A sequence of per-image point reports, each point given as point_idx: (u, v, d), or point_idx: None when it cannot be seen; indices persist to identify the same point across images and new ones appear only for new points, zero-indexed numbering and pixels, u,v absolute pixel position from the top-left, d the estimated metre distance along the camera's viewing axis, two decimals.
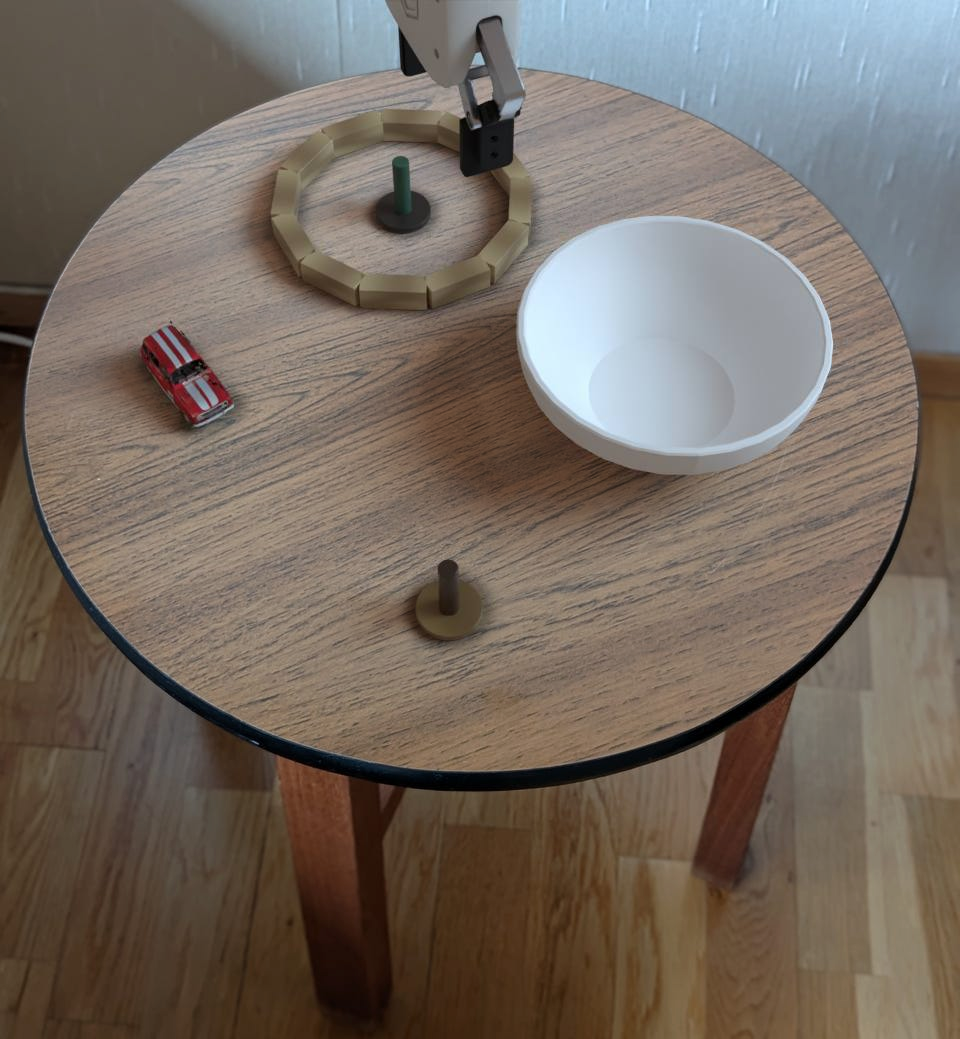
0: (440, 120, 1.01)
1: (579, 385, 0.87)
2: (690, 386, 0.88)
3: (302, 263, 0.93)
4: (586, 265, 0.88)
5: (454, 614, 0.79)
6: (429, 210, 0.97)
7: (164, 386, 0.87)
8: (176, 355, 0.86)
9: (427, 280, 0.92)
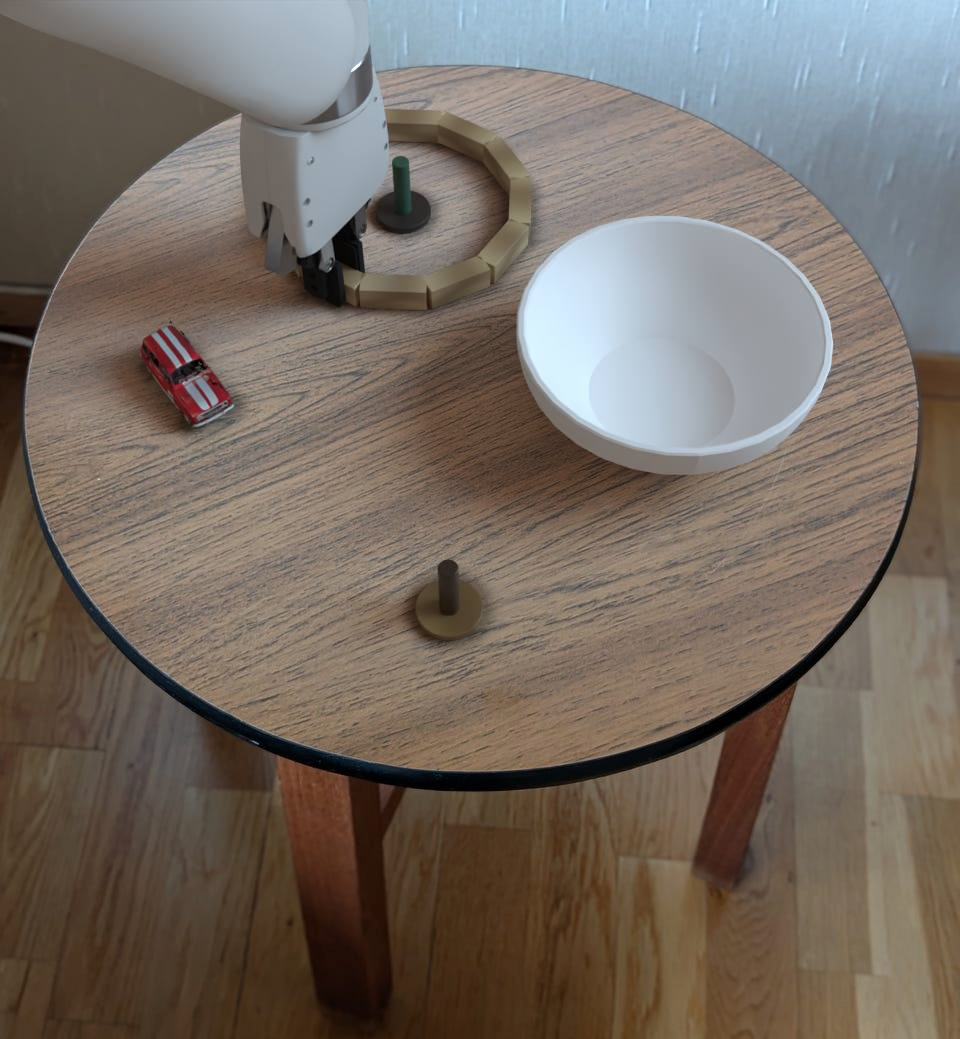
0: (440, 120, 1.01)
1: (579, 385, 0.87)
2: (690, 386, 0.88)
3: None
4: (586, 265, 0.88)
5: (454, 614, 0.79)
6: (429, 210, 0.97)
7: (164, 386, 0.87)
8: (176, 355, 0.86)
9: (427, 280, 0.92)
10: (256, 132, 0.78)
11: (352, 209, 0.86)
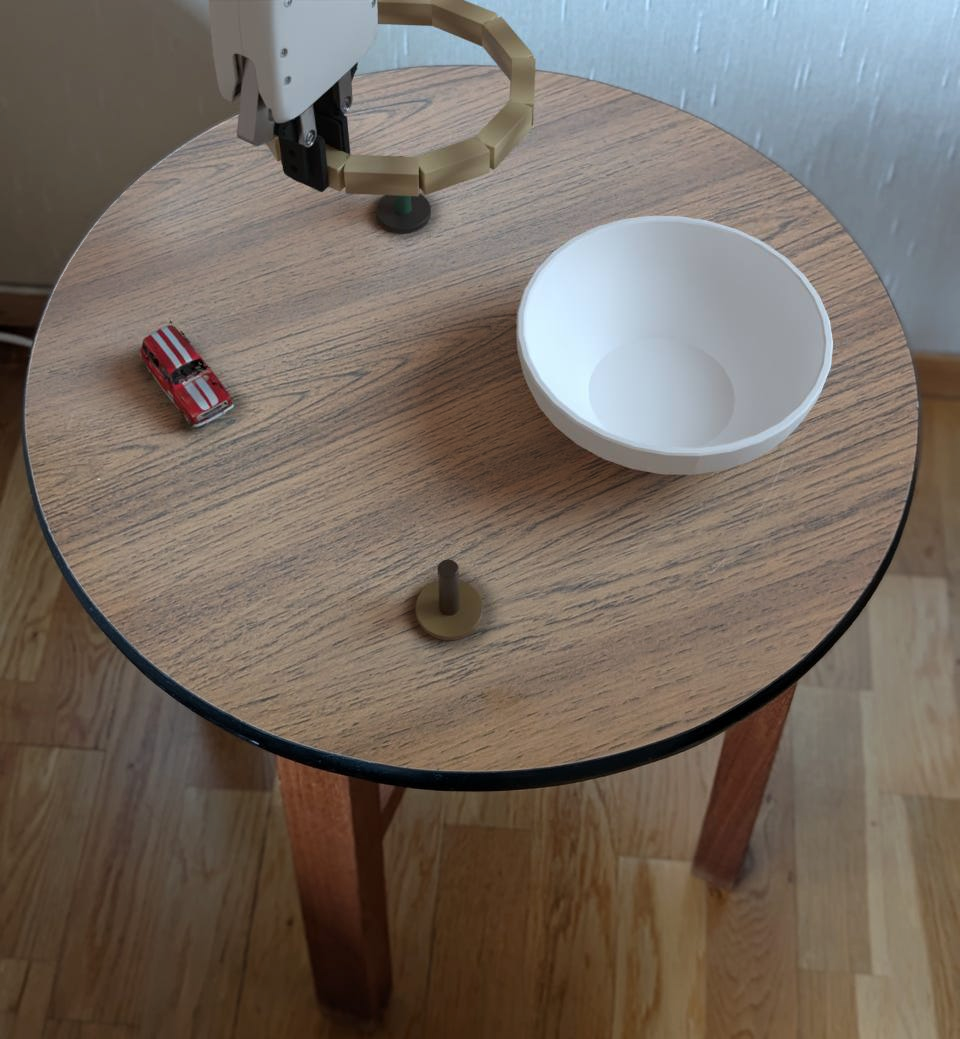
0: None
1: (579, 385, 0.87)
2: (690, 386, 0.88)
3: None
4: (586, 265, 0.88)
5: (454, 614, 0.79)
6: (429, 210, 0.97)
7: (164, 386, 0.87)
8: (176, 355, 0.86)
9: (419, 161, 0.83)
10: None
11: (336, 73, 0.77)
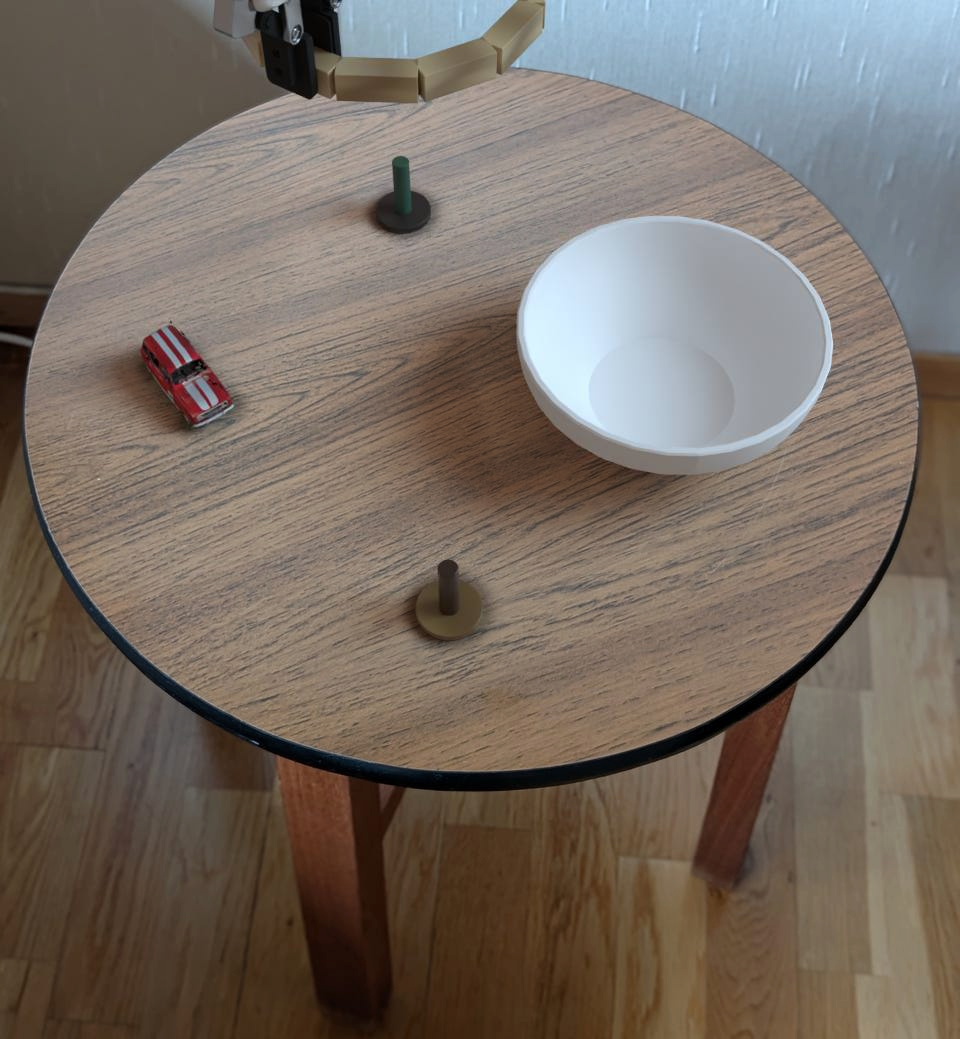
0: None
1: (579, 385, 0.87)
2: (690, 386, 0.88)
3: None
4: (586, 265, 0.88)
5: (454, 614, 0.79)
6: (429, 210, 0.97)
7: (164, 386, 0.87)
8: (176, 355, 0.86)
9: (419, 64, 0.74)
10: None
11: None
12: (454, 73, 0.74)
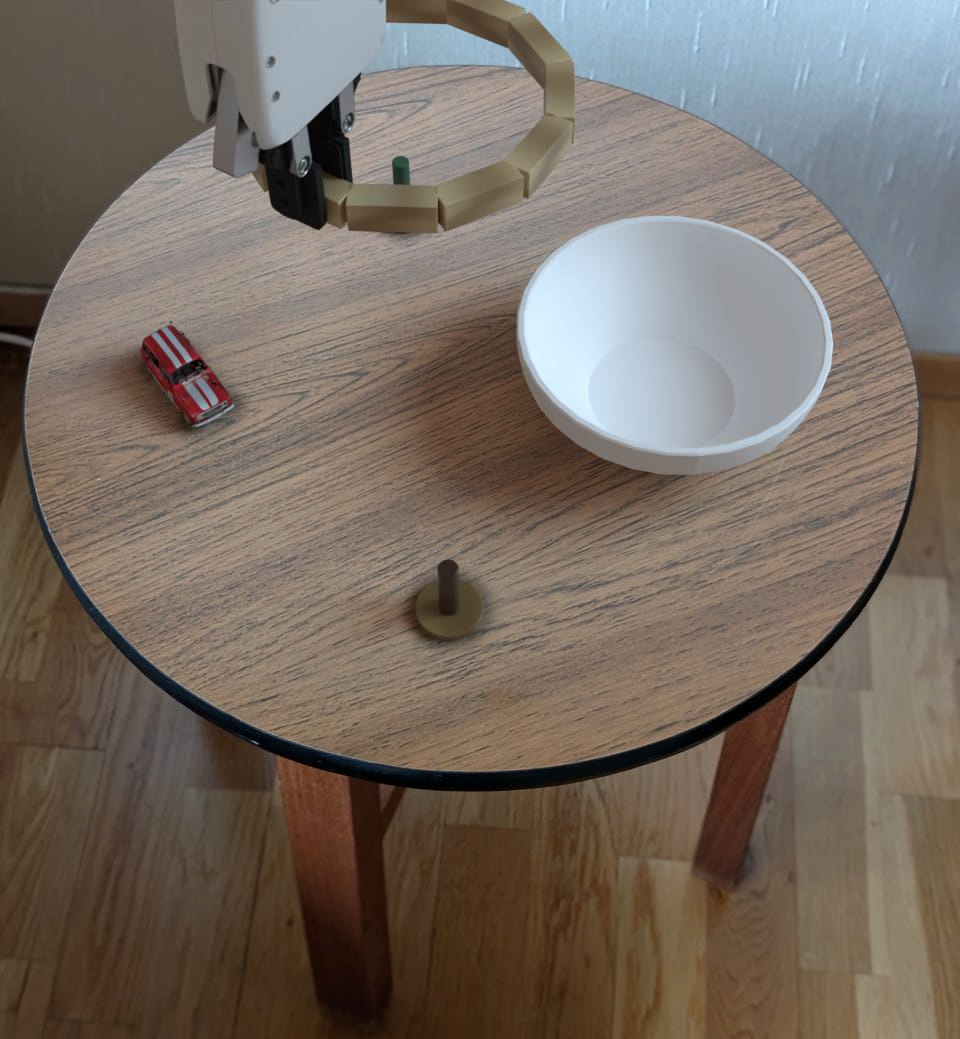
0: None
1: (579, 385, 0.87)
2: (690, 386, 0.88)
3: None
4: (586, 265, 0.88)
5: (454, 614, 0.79)
6: None
7: (164, 386, 0.87)
8: (176, 355, 0.86)
9: (438, 191, 0.67)
10: None
11: (335, 85, 0.62)
12: (477, 201, 0.68)
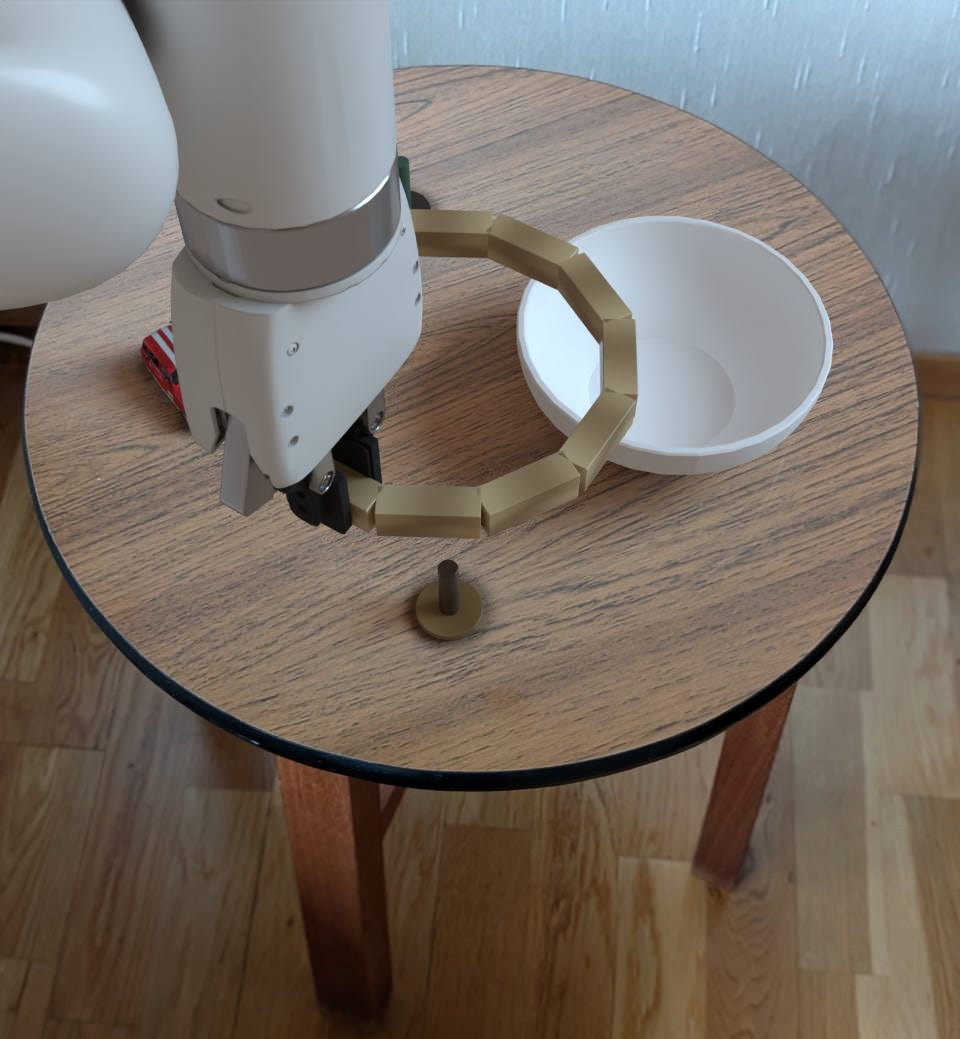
0: (492, 226, 0.67)
1: (579, 385, 0.87)
2: (690, 386, 0.88)
3: None
4: None
5: (454, 614, 0.79)
6: None
7: (164, 386, 0.87)
8: None
9: (482, 495, 0.58)
10: (197, 303, 0.44)
11: (364, 402, 0.53)
12: (526, 504, 0.58)
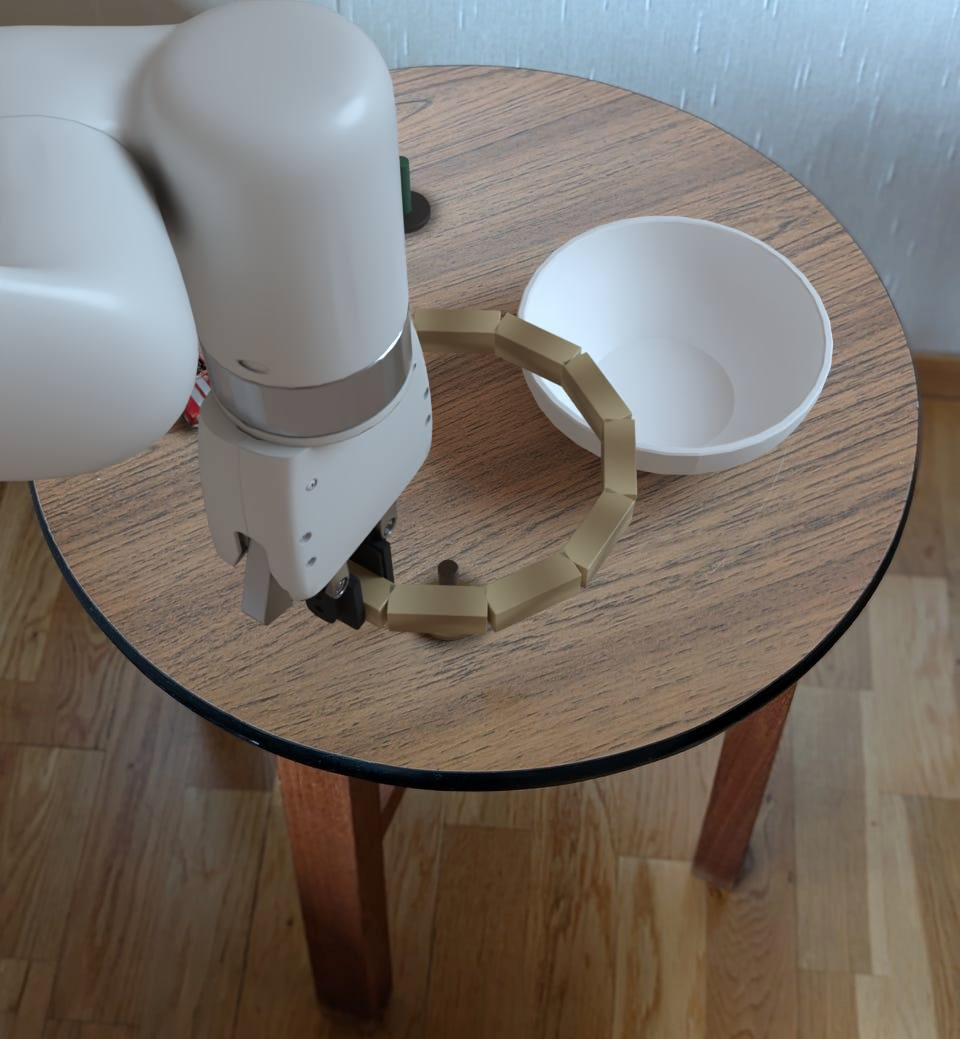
0: (499, 325, 0.70)
1: None
2: (690, 386, 0.88)
3: None
4: (586, 265, 0.88)
5: None
6: (429, 210, 0.97)
7: None
8: None
9: (488, 595, 0.62)
10: (223, 445, 0.48)
11: (377, 517, 0.56)
12: (530, 603, 0.62)
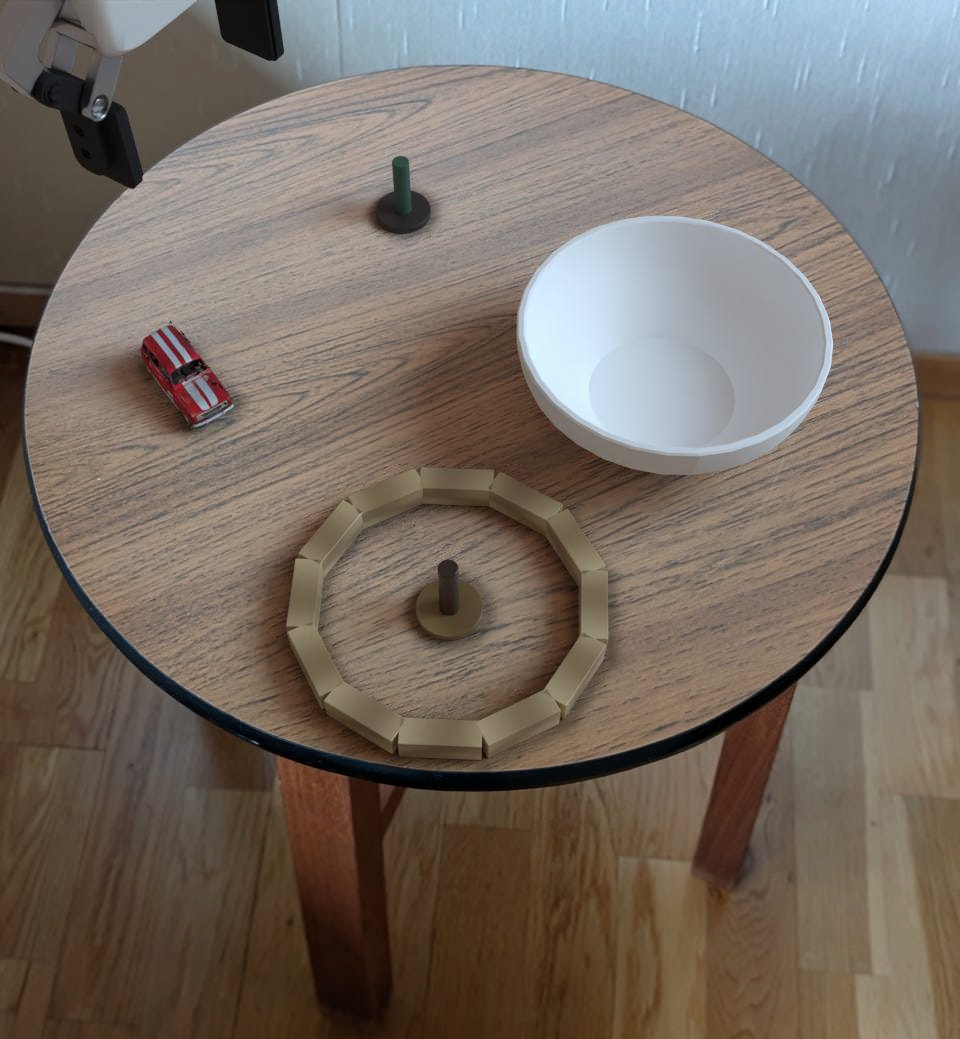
0: (493, 483, 0.83)
1: (579, 385, 0.87)
2: (690, 386, 0.88)
3: (326, 701, 0.74)
4: (586, 265, 0.88)
5: (454, 614, 0.79)
6: (429, 210, 0.97)
7: (164, 386, 0.87)
8: (176, 355, 0.86)
9: (482, 728, 0.74)
10: None
11: None
12: (518, 734, 0.74)
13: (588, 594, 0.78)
